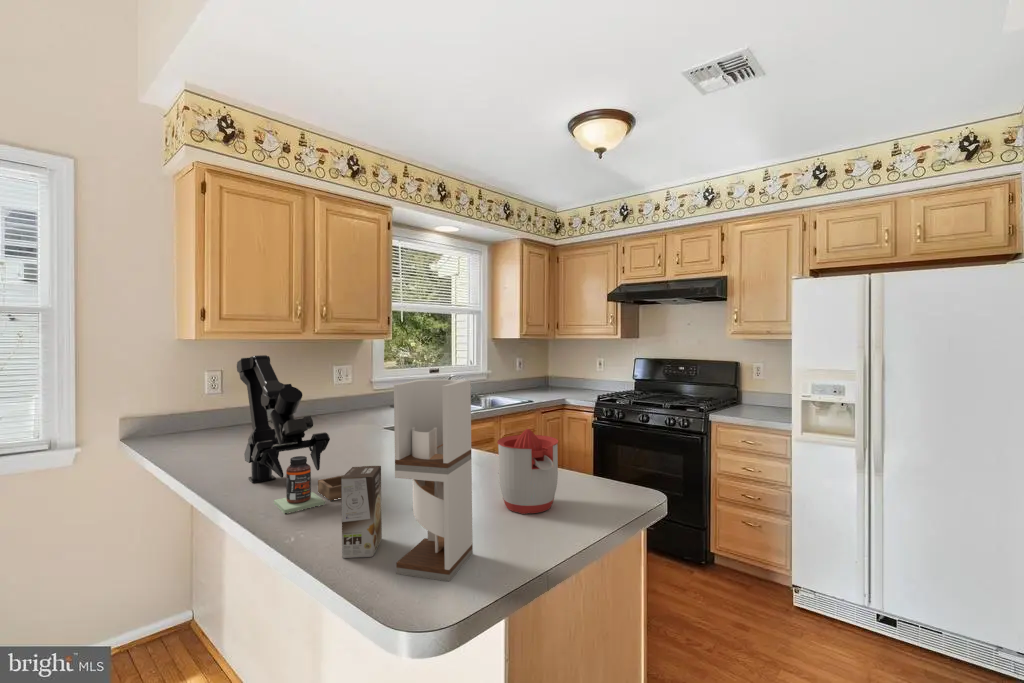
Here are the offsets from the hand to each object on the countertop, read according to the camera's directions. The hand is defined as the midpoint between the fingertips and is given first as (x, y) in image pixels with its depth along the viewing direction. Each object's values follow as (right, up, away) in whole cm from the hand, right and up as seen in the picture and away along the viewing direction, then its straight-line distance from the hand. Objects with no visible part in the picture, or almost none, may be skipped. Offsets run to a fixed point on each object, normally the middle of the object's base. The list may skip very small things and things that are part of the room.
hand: (300, 473), depth 128 cm
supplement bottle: (-1, -8, +1) cm, 8 cm away
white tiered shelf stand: (+41, -9, -33) cm, 53 cm away
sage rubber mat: (-1, -9, +1) cm, 9 cm away
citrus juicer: (+60, -8, -3) cm, 60 cm away
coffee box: (+24, -9, -26) cm, 37 cm away
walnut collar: (+7, -8, +10) cm, 15 cm away
